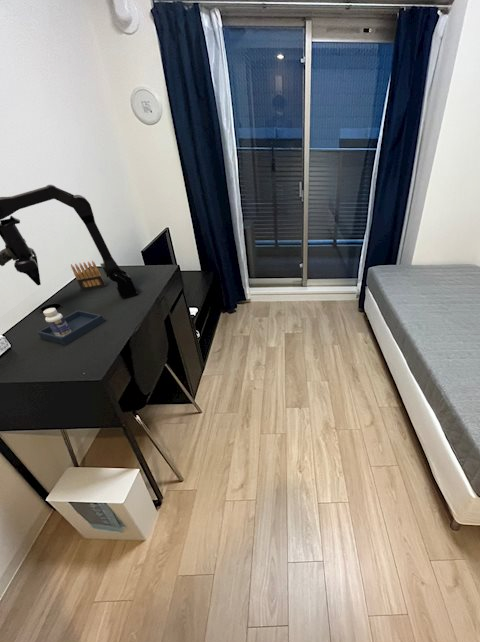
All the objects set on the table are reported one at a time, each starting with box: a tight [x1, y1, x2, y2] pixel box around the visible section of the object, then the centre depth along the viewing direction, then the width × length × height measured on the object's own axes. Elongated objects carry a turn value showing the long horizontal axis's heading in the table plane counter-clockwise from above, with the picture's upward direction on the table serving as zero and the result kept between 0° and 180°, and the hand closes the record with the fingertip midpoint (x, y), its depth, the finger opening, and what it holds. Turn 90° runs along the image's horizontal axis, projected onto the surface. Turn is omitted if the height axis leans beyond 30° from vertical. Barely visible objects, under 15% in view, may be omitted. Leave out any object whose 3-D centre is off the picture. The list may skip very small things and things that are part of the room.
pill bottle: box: [42, 307, 71, 337], centre depth 120 cm, size 5×5×10 cm
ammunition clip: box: [70, 260, 107, 292], centre depth 152 cm, size 11×2×12 cm, turn 109°
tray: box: [37, 309, 105, 346], centre depth 125 cm, size 17×13×3 cm
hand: (38, 281), depth 127 cm, fingers open, 9 cm apart
